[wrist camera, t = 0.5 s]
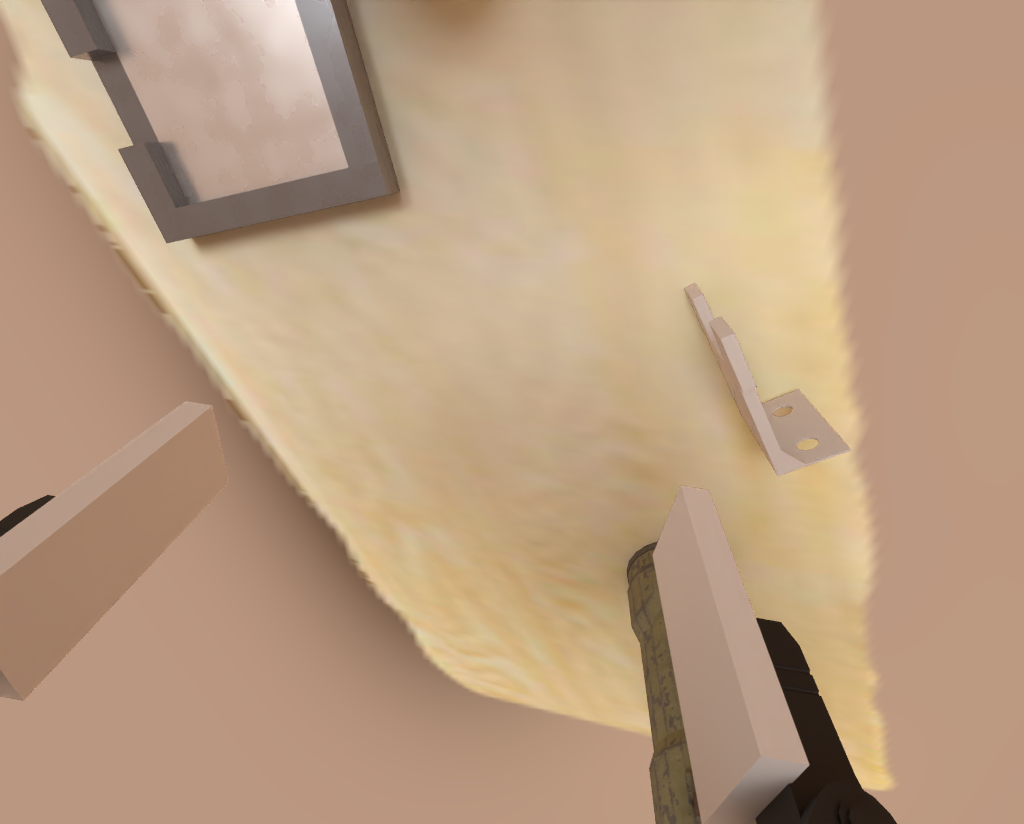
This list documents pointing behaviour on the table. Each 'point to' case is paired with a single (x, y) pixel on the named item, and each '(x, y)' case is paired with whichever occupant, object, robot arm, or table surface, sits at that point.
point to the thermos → (661, 698)
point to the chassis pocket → (234, 106)
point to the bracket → (768, 429)
